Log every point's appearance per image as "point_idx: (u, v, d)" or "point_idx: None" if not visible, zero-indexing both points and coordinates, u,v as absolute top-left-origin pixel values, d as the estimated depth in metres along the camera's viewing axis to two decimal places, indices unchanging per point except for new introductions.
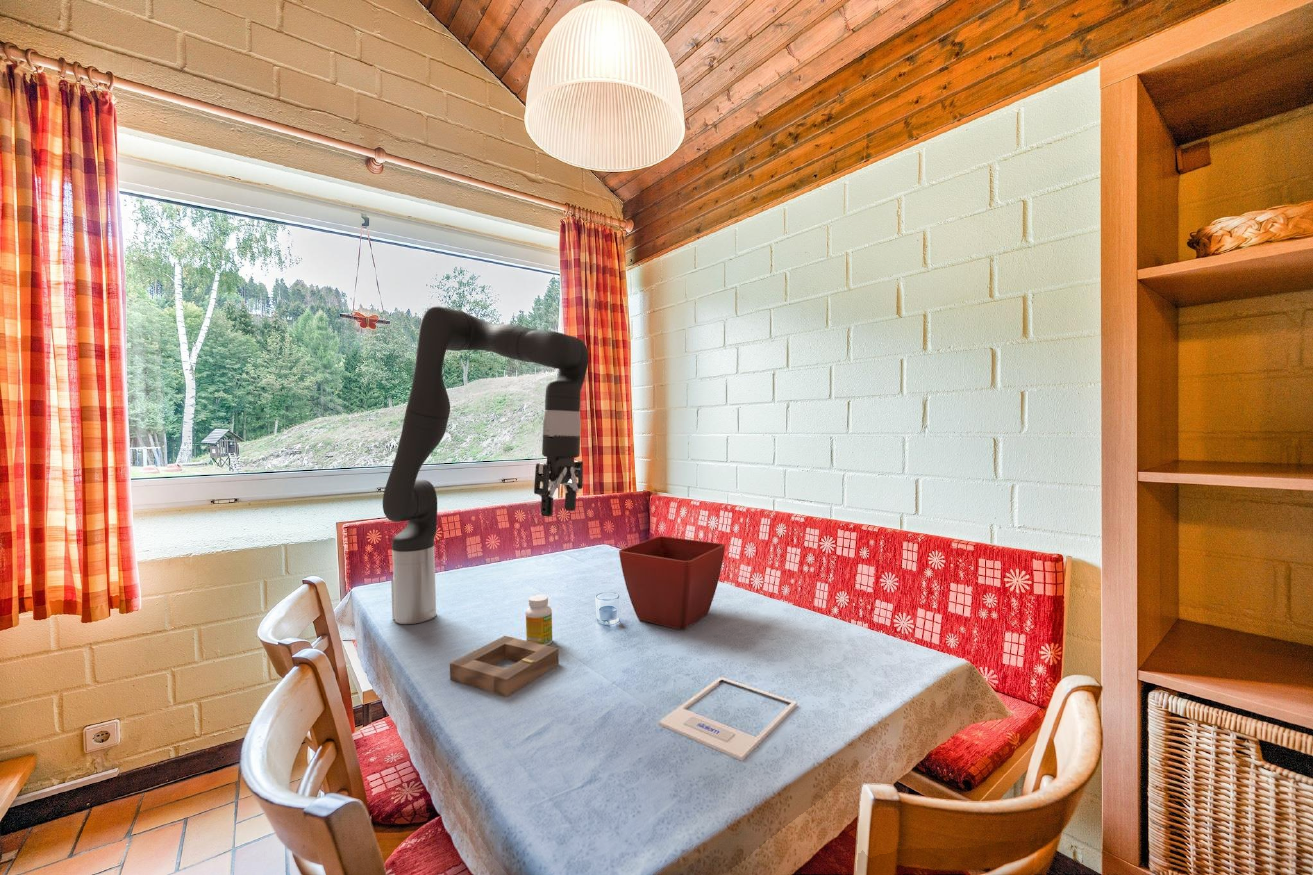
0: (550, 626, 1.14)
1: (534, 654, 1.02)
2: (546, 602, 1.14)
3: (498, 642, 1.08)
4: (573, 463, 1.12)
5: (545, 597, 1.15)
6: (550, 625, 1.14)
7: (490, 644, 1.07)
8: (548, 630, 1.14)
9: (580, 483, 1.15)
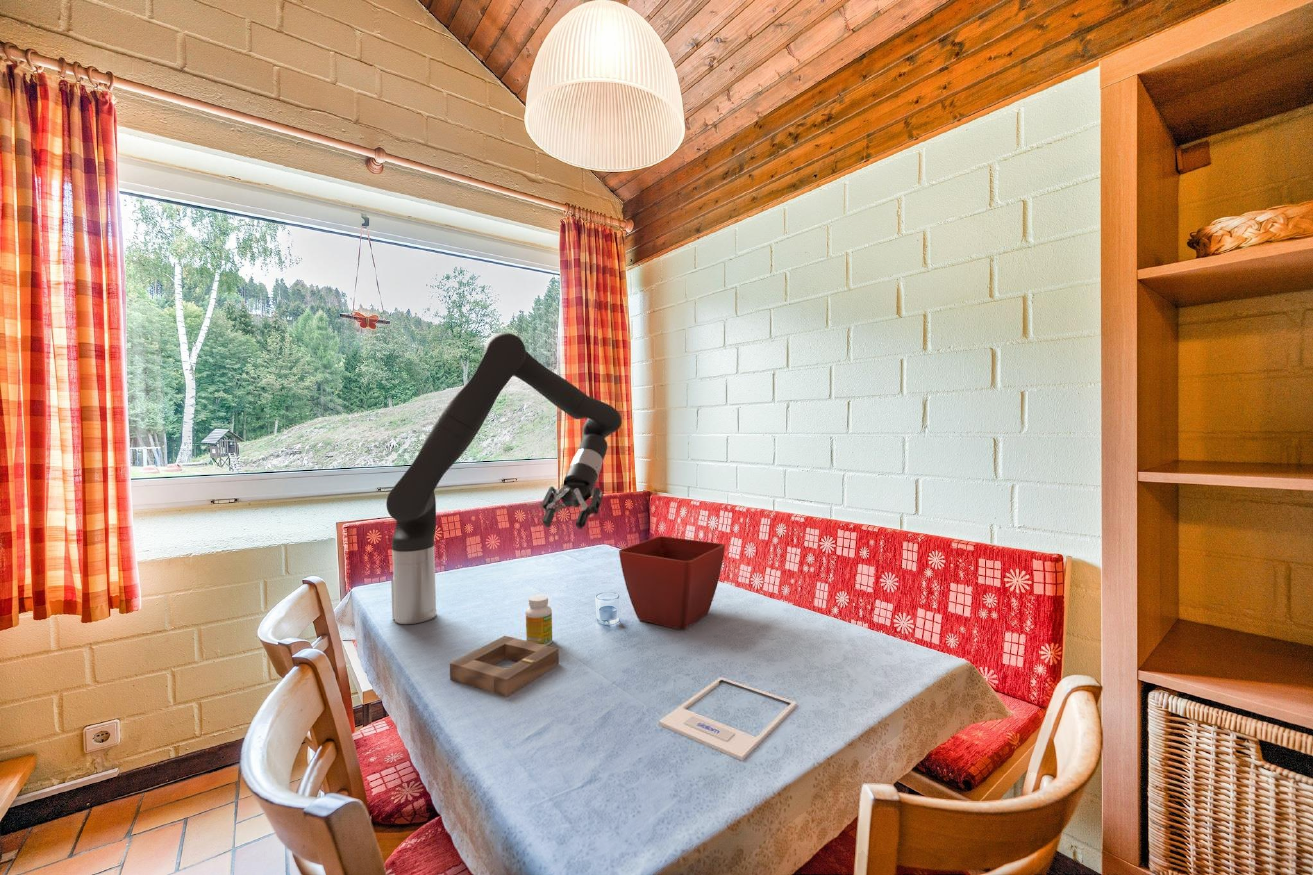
0: (550, 626, 1.14)
1: (534, 654, 1.02)
2: (546, 602, 1.14)
3: (498, 642, 1.08)
4: None
5: (545, 597, 1.15)
6: (550, 625, 1.14)
7: (490, 644, 1.07)
8: (548, 630, 1.14)
9: None
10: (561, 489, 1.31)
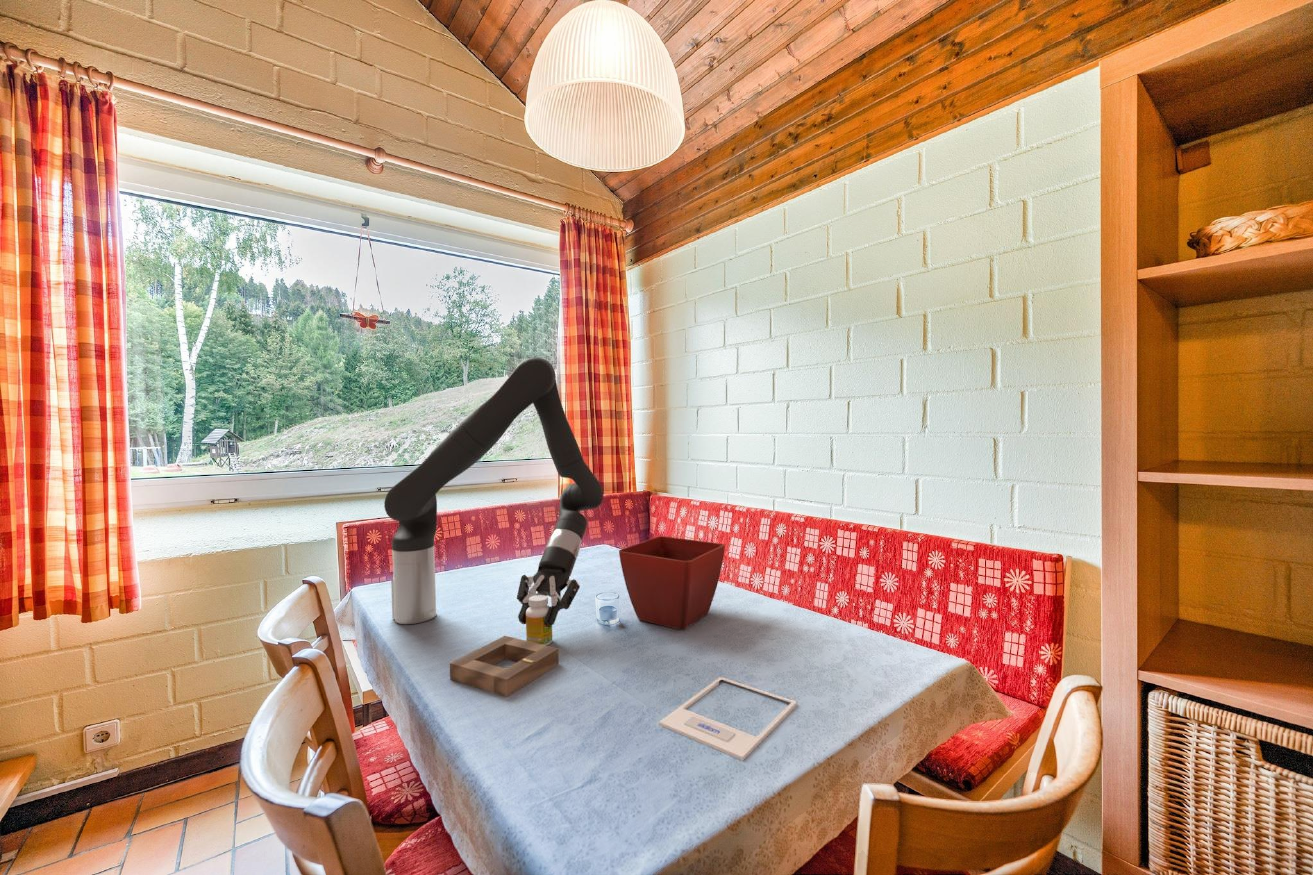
0: None
1: (534, 654, 1.02)
2: (546, 602, 1.14)
3: (498, 642, 1.08)
4: None
5: (545, 597, 1.15)
6: None
7: (490, 644, 1.07)
8: (548, 630, 1.14)
9: None
10: (535, 576, 1.20)
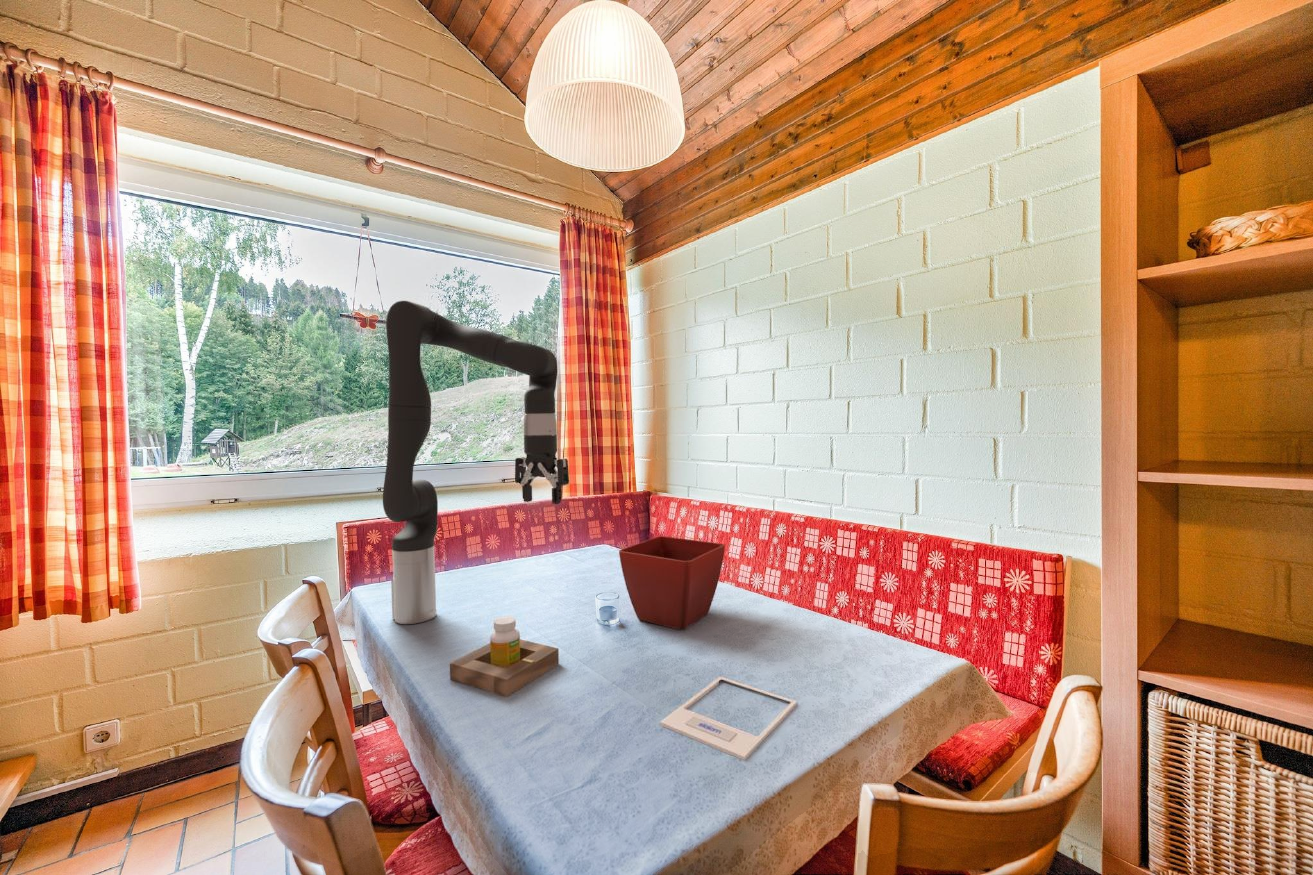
0: (517, 652, 1.02)
1: (534, 654, 1.02)
2: (513, 625, 1.02)
3: None
4: None
5: (512, 619, 1.02)
6: (517, 651, 1.02)
7: None
8: (515, 657, 1.01)
9: None
10: (526, 461, 1.27)
